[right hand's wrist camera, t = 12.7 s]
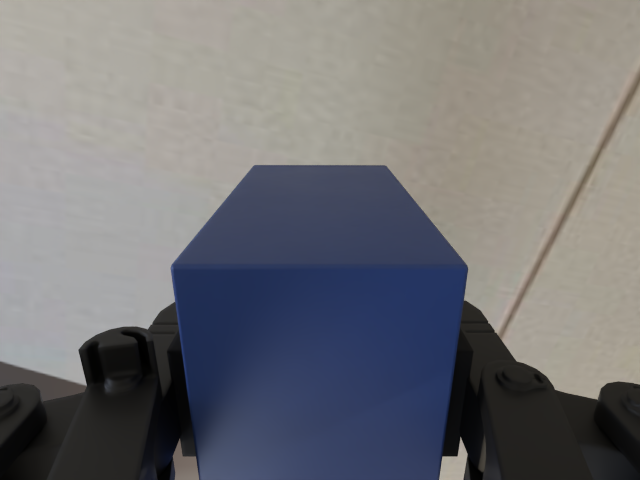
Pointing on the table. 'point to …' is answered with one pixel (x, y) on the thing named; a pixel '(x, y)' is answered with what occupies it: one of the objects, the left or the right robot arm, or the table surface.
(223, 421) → the bar
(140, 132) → the table surface
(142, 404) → the right robot arm
